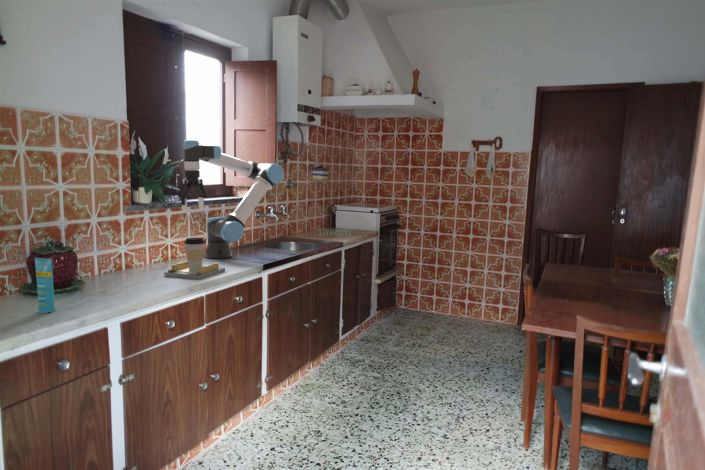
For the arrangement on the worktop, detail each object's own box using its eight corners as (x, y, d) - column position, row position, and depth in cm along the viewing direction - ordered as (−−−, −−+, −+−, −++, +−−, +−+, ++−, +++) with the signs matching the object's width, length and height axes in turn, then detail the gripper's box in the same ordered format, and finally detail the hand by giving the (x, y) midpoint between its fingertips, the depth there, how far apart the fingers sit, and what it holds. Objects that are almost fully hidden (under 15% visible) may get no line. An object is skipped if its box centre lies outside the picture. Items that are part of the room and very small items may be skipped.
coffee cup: (199, 271, 230) (198, 240, 228) (181, 270, 232) (180, 239, 230) (209, 267, 239) (208, 237, 237) (191, 266, 241) (190, 237, 239)
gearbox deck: (192, 268, 248) (191, 258, 248) (225, 271, 242) (225, 261, 241) (164, 276, 230) (164, 265, 229) (199, 280, 223) (199, 269, 222)
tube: (32, 312, 169) (28, 258, 167) (43, 309, 174) (39, 256, 172) (51, 314, 168) (47, 259, 166) (61, 310, 173) (58, 257, 170)
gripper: (201, 170, 267) (202, 208, 270) (169, 169, 244) (171, 211, 247) (212, 170, 265) (213, 209, 268) (181, 169, 242) (183, 212, 244)
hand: (193, 210), depth 257 cm, fingers open, 13 cm apart
